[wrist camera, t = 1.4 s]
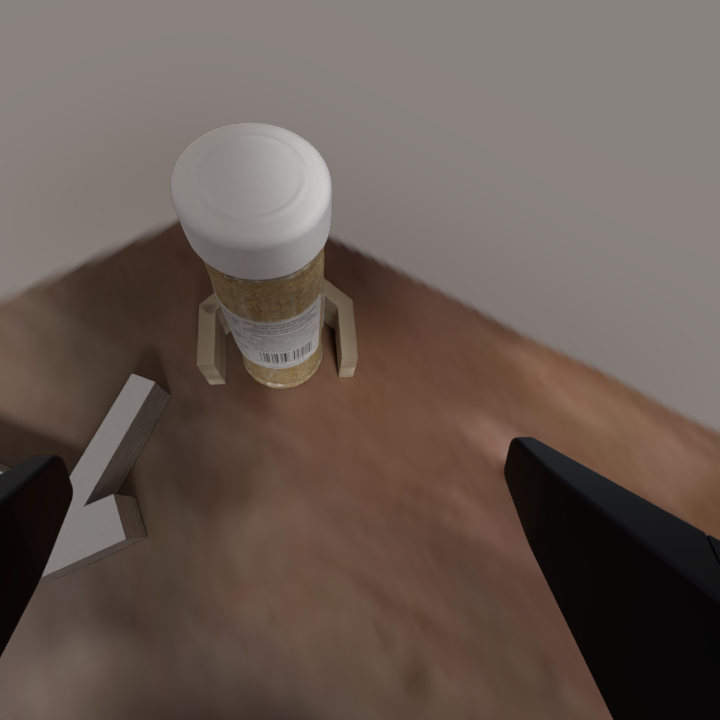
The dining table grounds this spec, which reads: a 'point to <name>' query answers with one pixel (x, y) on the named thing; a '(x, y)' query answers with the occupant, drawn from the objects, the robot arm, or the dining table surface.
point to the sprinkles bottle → (260, 241)
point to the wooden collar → (217, 328)
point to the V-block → (107, 482)
